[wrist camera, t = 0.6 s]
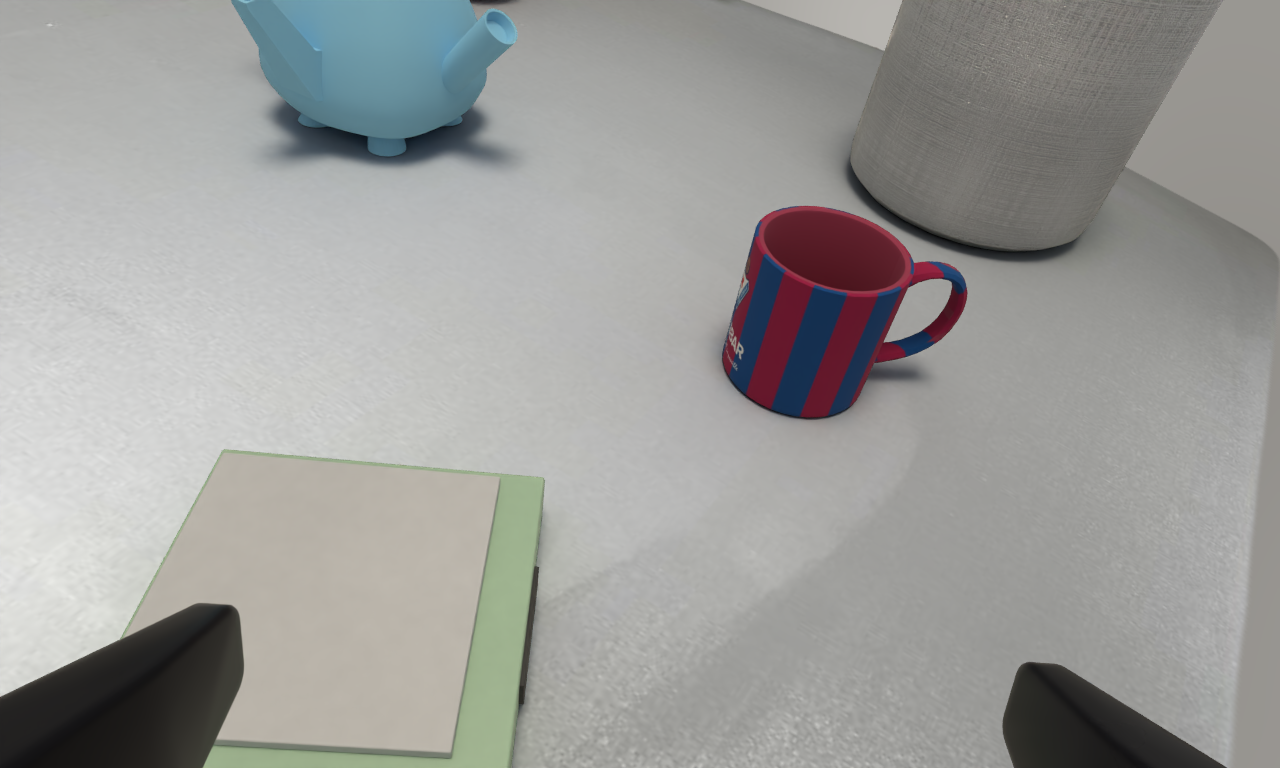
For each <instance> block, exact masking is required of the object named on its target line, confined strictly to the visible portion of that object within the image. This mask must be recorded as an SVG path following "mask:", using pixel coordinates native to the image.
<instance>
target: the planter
mask: <svg viewBox="0 0 1280 768" xmlns="http://www.w3.org/2000/svg"><path fill="white" fill-rule="evenodd" d="M1222 2H1223V0H903V1H902V4H901V6H900V9H899V12H898V15H897V18H896V21H895V23H894V26H893V29H892V32H891V35H890V37H889V40H888V43H887V46H886V49H885V51H884V54H883V57H882V60H881V62H880V65H879V68H878V71H877V73H876V76H875V79H874V82H873V85H872V87H871V90H870V93H869V96H868V99H867V101H866V104H865V107H864V110H863V113H862V115H861V118H860V121H859V124H858V127H857V130H856V133H855V135H854V138H853V143H852V148H851V153H850V161H851V165H852V168H853V170H854V172H855V174H856V176H857V178H858V179H859V180H860V182H861V183H862V184H863V186H864V187H865V188H866V189H867V190H868V192H869V193H870V194H871V195H872V196H873V198H874V199H875V200H876V201H877V202H879V203H880V204H881V205H882V206H884V207H885V208H886V209H888V210H889V211H891V212H892V213H893V214H895V215H896V216H898V217H899V218H901V219H903V220H905V221H906V222H908V223H910V224H912V225H914V226H917V227H919V228H921V229H923V230H925V231H927V232H929V233H932V234H934V235H937V236H940V237H943V238H946V239H949V240H952V241H955V242H958V243H962V244H965V245H969V246H974V247H979V248H985V249H991V250H998V251H1034V250H1041V249H1047V248H1051V247H1055V246H1059V245H1062V244H1065V243H1068V242H1071V241H1073V240H1075V239H1076V238H1078V237H1079V236H1080V235H1081V234H1082V233H1083V232H1084V230H1085V229H1086V228H1087V227H1088V226H1089V224H1090V223H1091V222H1092V220H1093V219H1094V217H1095V216H1096V214H1097V212H1098V211H1099V209H1100V207H1101V206H1102V204H1103V202H1104V201H1105V199H1106V197H1107V196H1108V194H1109V192H1110V191H1111V189H1112V187H1113V186H1114V184H1115V182H1116V180H1117V179H1118V177H1119V175H1120V174H1121V172H1122V170H1123V169H1124V167H1125V165H1126V163H1127V162H1128V160H1129V158H1130V157H1131V155H1132V153H1133V151H1134V150H1135V148H1136V146H1137V145H1138V143H1139V141H1140V139H1141V138H1142V136H1143V134H1144V133H1145V131H1146V129H1147V127H1148V126H1149V124H1150V122H1151V121H1152V119H1153V117H1154V116H1155V114H1156V112H1157V110H1158V109H1159V107H1160V105H1161V104H1162V102H1163V100H1164V99H1165V97H1166V95H1167V94H1168V92H1169V90H1170V88H1171V87H1172V85H1173V83H1174V82H1175V80H1176V78H1177V77H1178V75H1179V73H1180V71H1181V70H1182V68H1183V67H1184V65H1185V63H1186V61H1187V60H1188V58H1189V56H1190V55H1191V53H1192V51H1193V50H1194V48H1195V47H1196V45H1197V43H1198V42H1199V40H1200V38H1201V37H1202V35H1203V33H1204V32H1205V30H1206V28H1207V27H1208V25H1209V23H1210V22H1211V20H1212V18H1213V17H1214V15H1215V13H1216V12H1217V10H1218V8H1219V7H1220V5H1221V3H1222Z"/></svg>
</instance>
